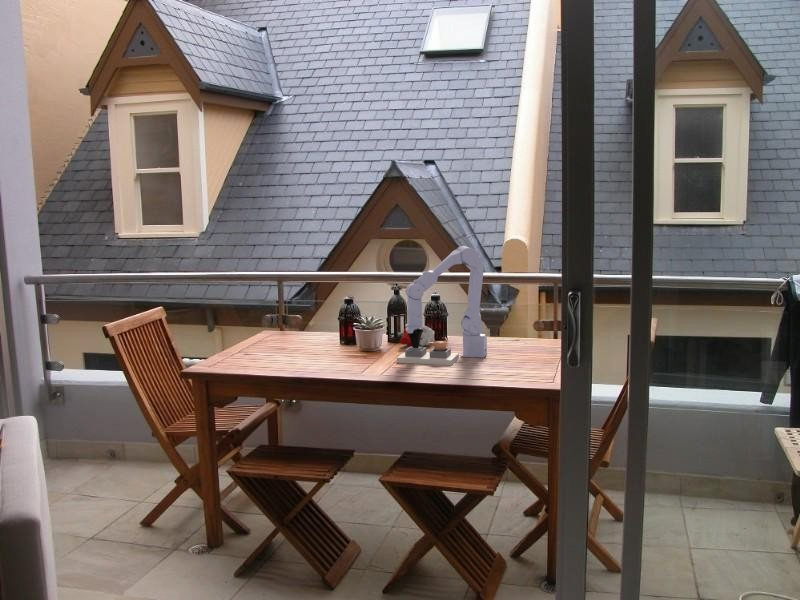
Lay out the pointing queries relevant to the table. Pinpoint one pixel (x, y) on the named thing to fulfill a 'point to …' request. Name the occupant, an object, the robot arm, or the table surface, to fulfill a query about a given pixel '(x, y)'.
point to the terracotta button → (440, 345)
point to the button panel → (428, 356)
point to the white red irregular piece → (424, 338)
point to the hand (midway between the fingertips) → (415, 347)
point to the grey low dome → (416, 348)
